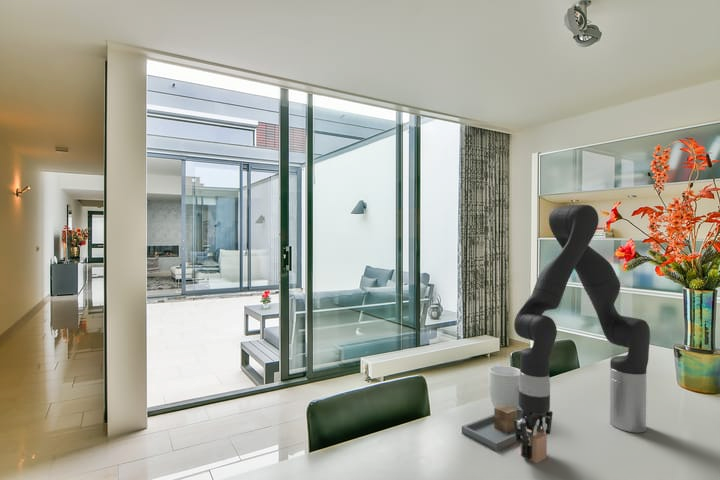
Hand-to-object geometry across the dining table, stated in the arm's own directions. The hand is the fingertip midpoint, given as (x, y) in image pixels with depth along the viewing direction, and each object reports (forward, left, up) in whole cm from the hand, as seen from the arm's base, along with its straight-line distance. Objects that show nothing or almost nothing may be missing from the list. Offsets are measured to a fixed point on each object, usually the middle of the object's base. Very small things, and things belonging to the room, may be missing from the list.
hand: (533, 454), depth 105 cm
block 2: (0, 0, -1) cm, 1 cm away
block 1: (-6, -13, 0) cm, 14 cm away
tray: (-2, -13, 0) cm, 13 cm away
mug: (-19, -21, -1) cm, 28 cm away
